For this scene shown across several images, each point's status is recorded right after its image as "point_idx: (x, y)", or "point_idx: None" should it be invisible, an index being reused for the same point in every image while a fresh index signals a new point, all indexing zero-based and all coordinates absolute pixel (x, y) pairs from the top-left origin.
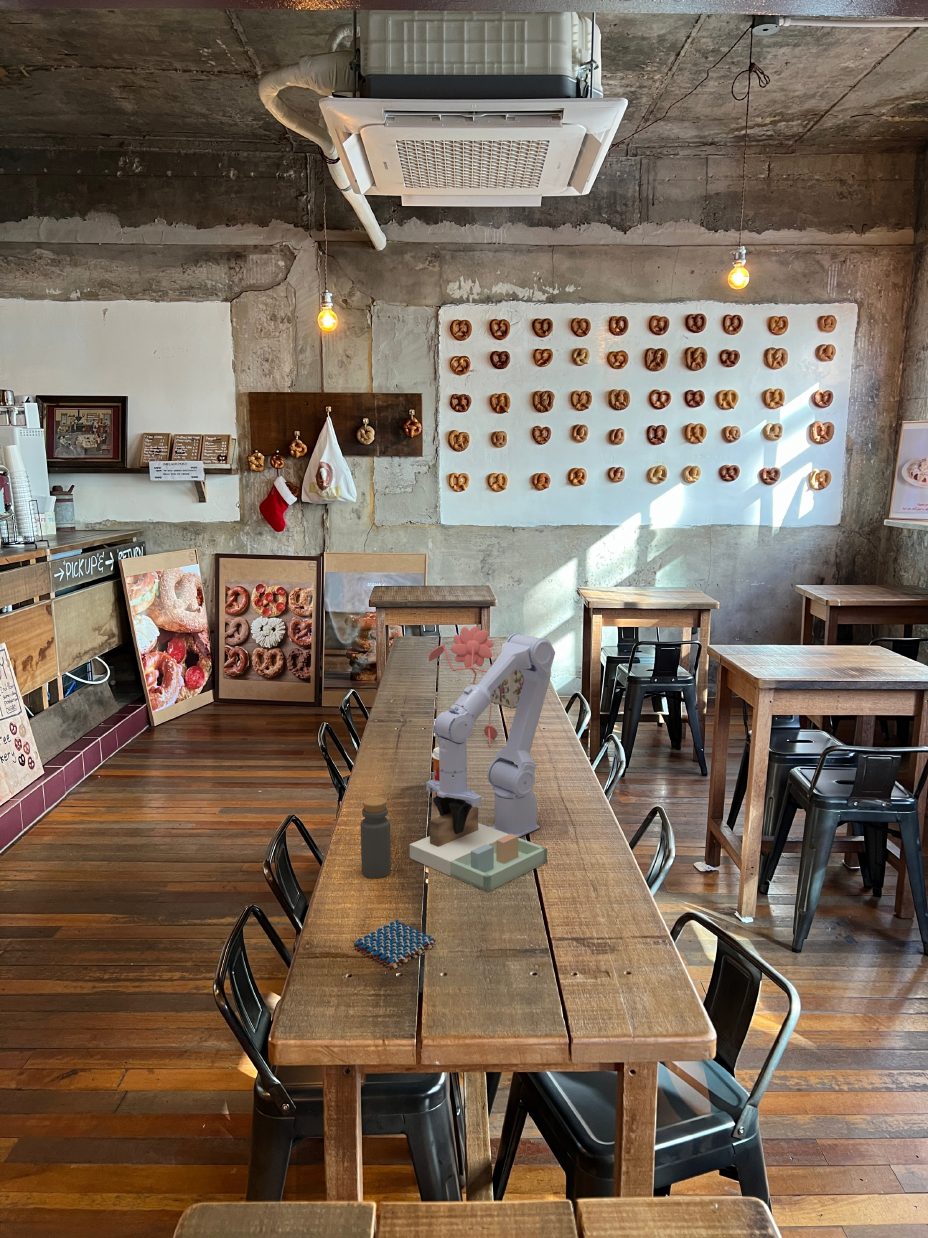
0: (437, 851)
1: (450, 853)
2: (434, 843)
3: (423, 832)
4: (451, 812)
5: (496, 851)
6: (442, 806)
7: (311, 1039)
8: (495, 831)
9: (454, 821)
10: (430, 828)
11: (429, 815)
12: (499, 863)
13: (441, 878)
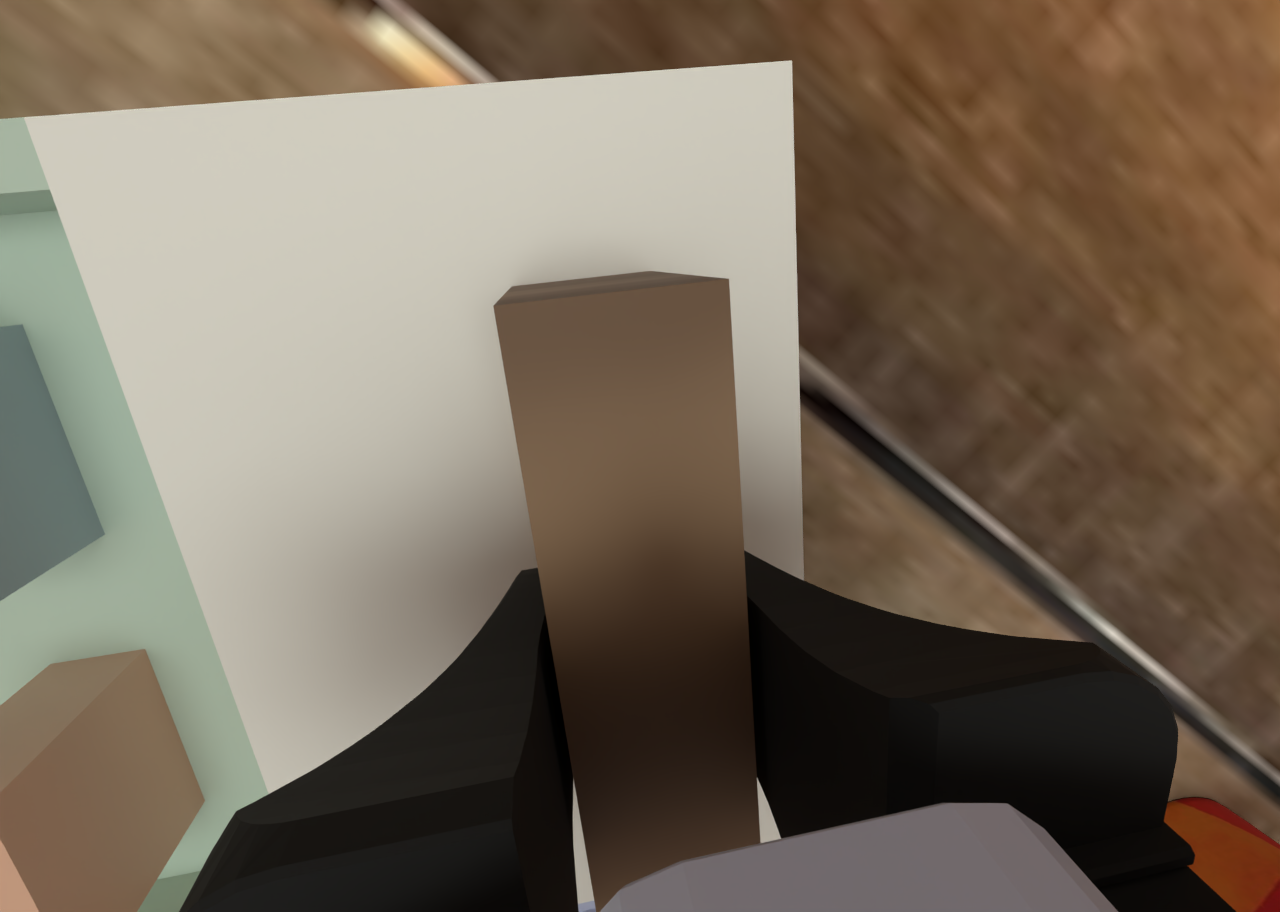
0: (404, 193)
1: (259, 282)
2: (575, 280)
3: (1020, 516)
4: (530, 703)
5: (82, 708)
6: (828, 699)
7: None
8: None
9: (509, 637)
10: (674, 276)
11: (1171, 700)
12: (74, 641)
13: (140, 35)
